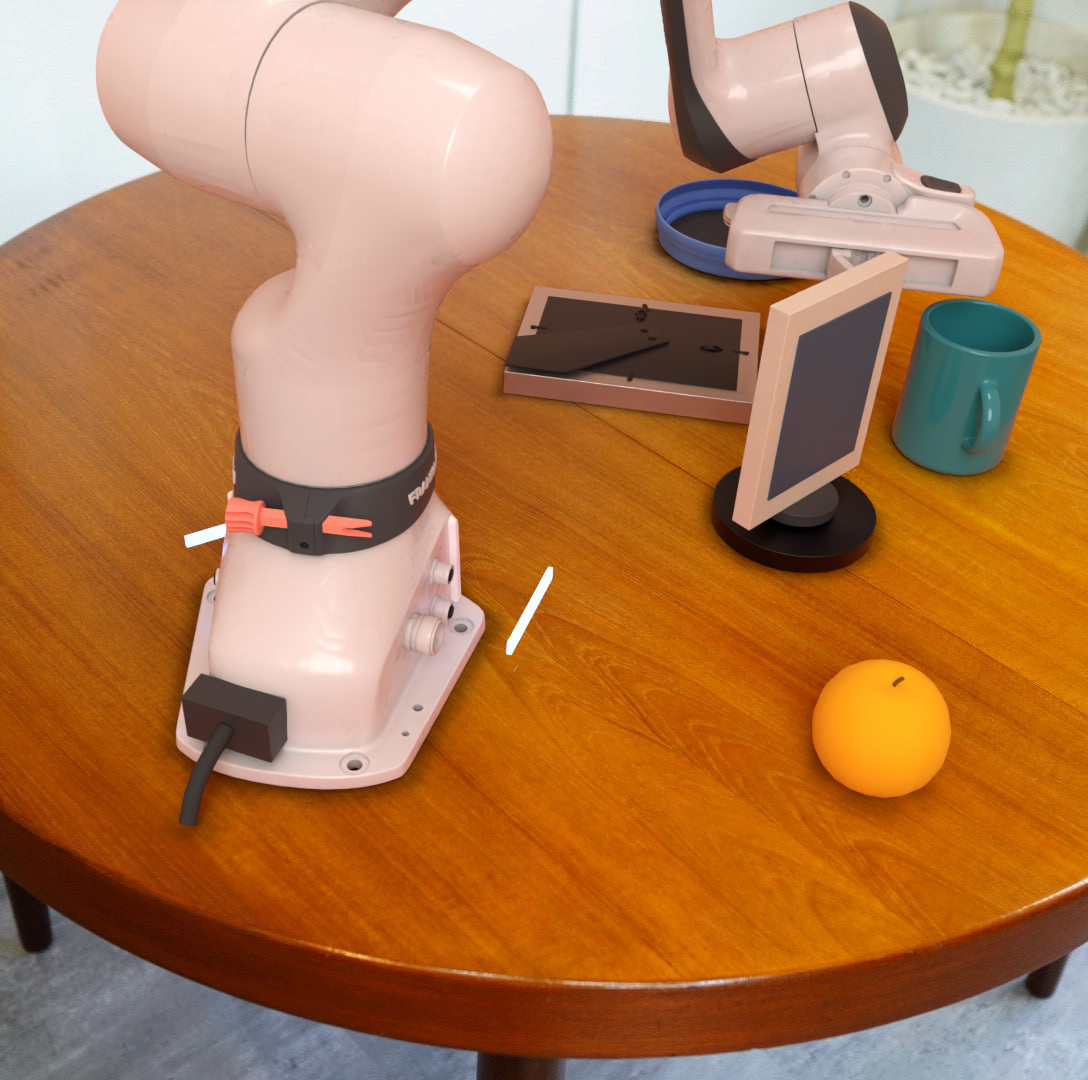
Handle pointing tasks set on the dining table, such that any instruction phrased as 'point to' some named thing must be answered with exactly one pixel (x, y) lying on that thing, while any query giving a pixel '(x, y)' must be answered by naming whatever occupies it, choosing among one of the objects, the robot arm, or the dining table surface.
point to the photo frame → (816, 393)
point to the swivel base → (798, 531)
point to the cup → (964, 385)
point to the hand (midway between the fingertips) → (867, 293)
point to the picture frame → (636, 355)
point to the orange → (881, 728)
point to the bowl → (706, 222)
